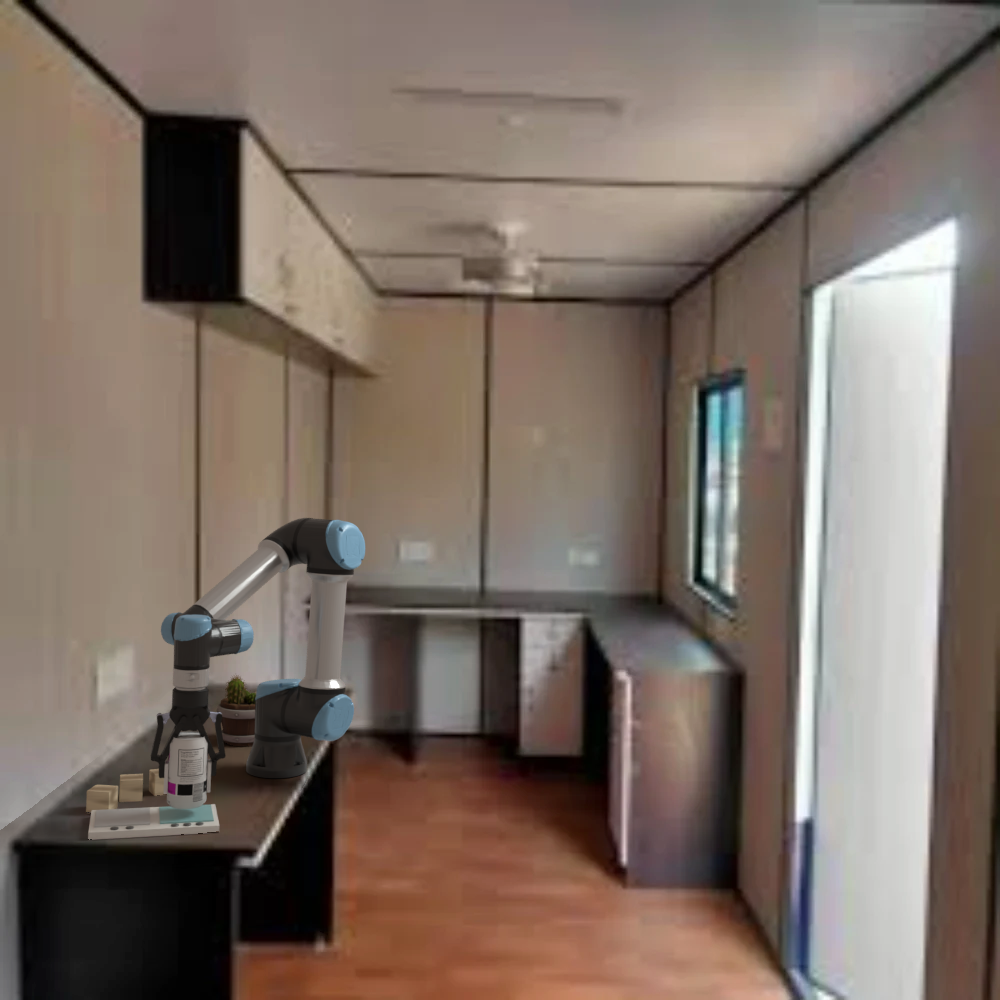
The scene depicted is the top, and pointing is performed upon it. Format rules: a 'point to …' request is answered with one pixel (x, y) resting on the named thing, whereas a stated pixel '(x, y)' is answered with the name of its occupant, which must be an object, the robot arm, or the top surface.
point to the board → (152, 822)
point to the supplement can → (187, 771)
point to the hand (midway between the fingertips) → (186, 791)
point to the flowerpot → (238, 714)
